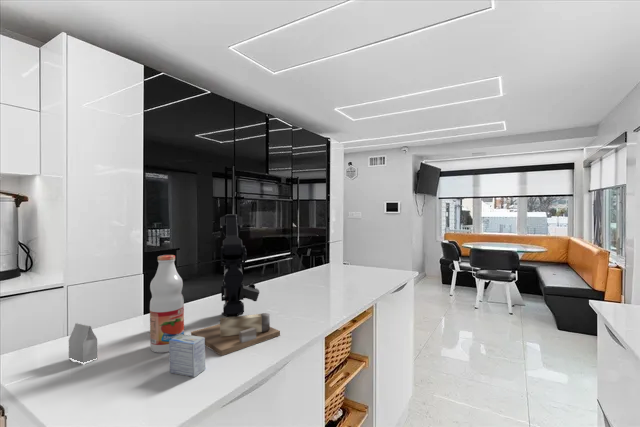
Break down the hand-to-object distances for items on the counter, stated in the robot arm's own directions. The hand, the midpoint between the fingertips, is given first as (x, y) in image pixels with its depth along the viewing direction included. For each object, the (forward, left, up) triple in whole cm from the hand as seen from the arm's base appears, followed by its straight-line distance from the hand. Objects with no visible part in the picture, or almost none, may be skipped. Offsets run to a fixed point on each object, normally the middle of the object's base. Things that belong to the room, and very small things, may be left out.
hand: (234, 326), depth 108 cm
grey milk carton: (-14, -39, -3) cm, 42 cm away
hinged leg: (+5, +1, -1) cm, 5 cm away
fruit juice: (-6, -19, -3) cm, 20 cm away
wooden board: (+1, 0, -3) cm, 3 cm away
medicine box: (+14, -21, -3) cm, 25 cm away
